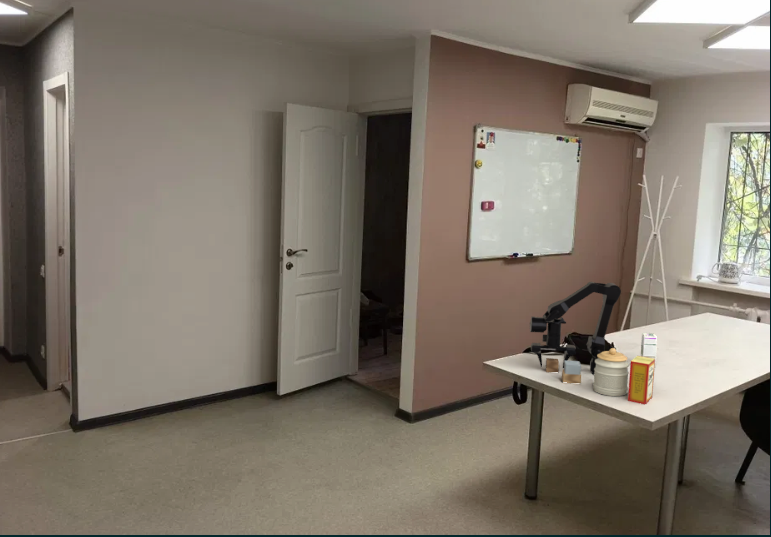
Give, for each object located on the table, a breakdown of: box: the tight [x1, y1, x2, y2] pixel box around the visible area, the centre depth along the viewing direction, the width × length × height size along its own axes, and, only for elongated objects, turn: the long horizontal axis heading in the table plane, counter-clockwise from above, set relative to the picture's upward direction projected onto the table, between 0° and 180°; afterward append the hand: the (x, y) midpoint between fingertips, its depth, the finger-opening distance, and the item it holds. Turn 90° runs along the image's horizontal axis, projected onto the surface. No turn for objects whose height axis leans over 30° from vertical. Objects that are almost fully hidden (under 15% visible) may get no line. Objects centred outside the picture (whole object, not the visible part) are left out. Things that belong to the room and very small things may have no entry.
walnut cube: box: [545, 357, 560, 373], centre depth 277 cm, size 5×5×5 cm
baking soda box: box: [627, 355, 656, 405], centre depth 243 cm, size 10×6×16 cm
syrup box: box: [640, 332, 658, 368], centre depth 285 cm, size 6×6×14 cm
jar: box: [592, 347, 630, 397], centre depth 251 cm, size 13×13×18 cm
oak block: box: [561, 368, 582, 384], centre depth 264 cm, size 7×7×4 cm
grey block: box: [563, 359, 582, 375], centre depth 264 cm, size 6×6×4 cm
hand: (552, 367), depth 277 cm, fingers open, 9 cm apart
